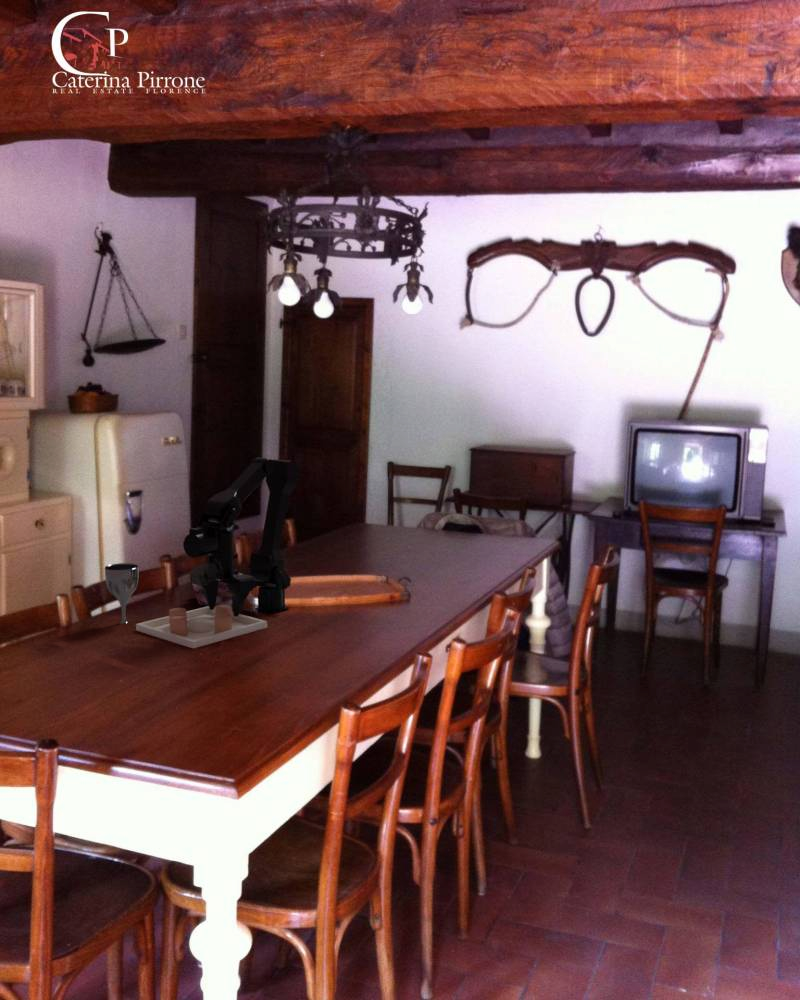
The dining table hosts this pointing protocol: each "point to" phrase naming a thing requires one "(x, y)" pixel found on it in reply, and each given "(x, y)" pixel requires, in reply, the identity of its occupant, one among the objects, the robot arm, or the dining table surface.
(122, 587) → the wine glass
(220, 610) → the pale tan cube
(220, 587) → the flower
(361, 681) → the dining table surface
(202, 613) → the groove dish
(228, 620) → the beige cube
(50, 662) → the dining table surface
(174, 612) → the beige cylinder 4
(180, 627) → the seated bead
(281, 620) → the dining table surface
